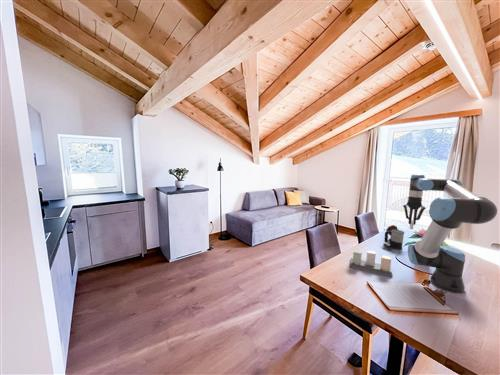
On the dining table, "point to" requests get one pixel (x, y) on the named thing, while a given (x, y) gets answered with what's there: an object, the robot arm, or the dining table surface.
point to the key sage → (357, 257)
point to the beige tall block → (385, 263)
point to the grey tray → (371, 268)
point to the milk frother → (394, 239)
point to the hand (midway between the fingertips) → (411, 228)
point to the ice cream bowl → (391, 229)
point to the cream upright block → (370, 258)
